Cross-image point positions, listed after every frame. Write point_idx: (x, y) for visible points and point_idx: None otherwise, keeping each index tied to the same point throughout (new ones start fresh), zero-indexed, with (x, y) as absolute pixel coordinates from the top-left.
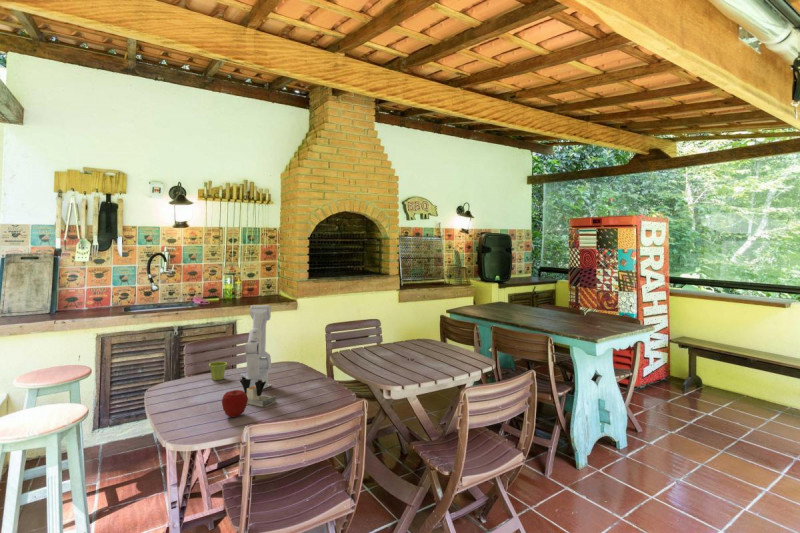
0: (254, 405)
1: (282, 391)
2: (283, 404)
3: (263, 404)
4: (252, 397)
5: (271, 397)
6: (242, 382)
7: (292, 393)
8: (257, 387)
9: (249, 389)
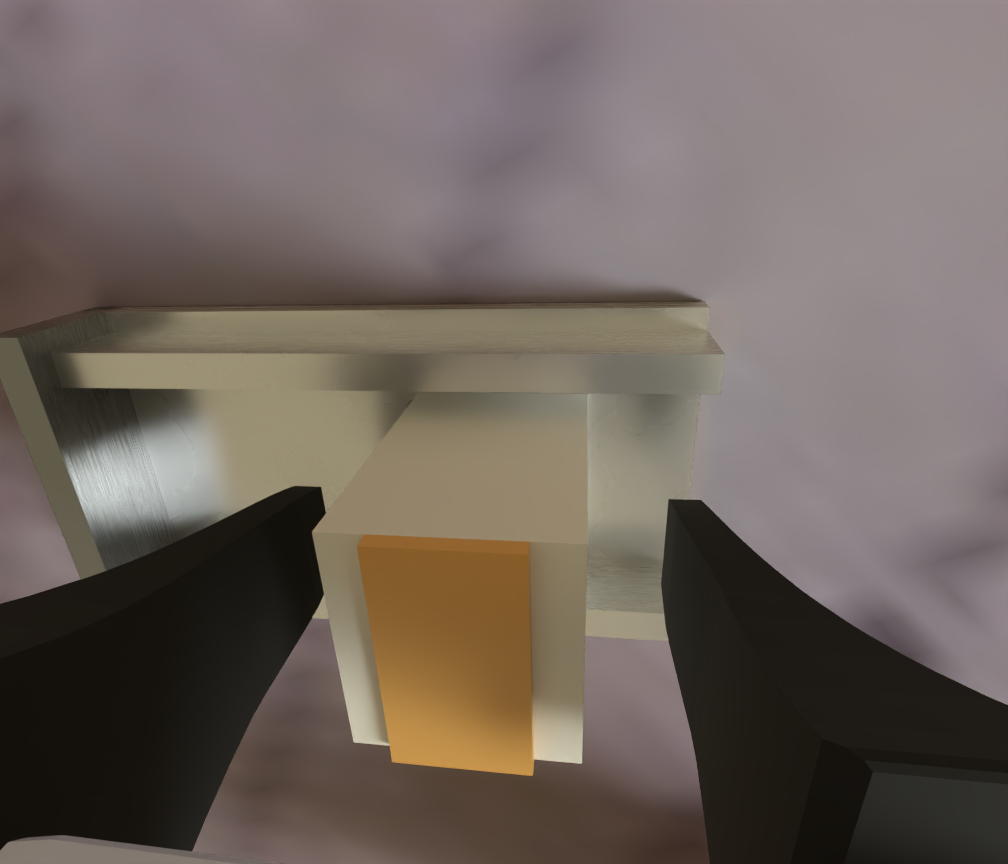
0: (310, 305)
1: (434, 858)
2: (19, 535)
3: (65, 321)
4: (411, 427)
5: (88, 555)
6: (869, 704)
7: (275, 836)
8: (90, 595)
9: (469, 529)
